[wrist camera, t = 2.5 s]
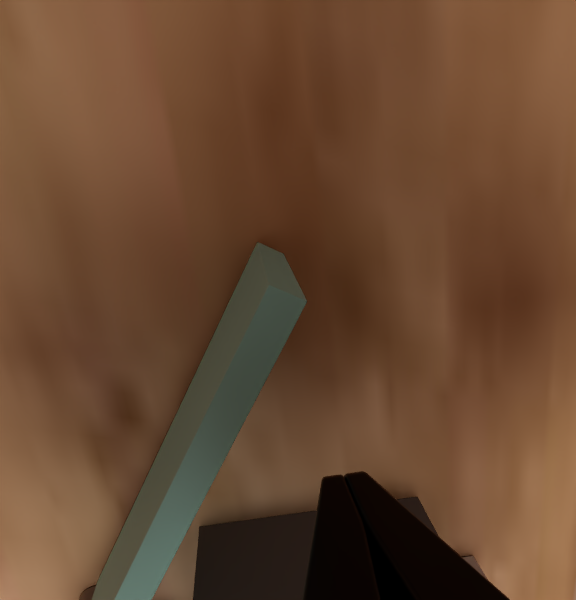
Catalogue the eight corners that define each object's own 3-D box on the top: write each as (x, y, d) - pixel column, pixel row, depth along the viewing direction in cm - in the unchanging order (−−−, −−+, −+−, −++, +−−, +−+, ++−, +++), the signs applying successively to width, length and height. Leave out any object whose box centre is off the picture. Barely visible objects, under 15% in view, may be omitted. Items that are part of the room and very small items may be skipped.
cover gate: (283, 253, 12) (307, 301, 8) (119, 587, 15) (82, 731, 11) (257, 241, 12) (269, 284, 8) (97, 581, 15) (51, 727, 11)
